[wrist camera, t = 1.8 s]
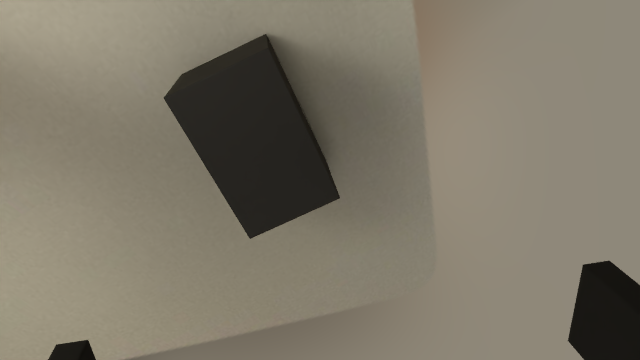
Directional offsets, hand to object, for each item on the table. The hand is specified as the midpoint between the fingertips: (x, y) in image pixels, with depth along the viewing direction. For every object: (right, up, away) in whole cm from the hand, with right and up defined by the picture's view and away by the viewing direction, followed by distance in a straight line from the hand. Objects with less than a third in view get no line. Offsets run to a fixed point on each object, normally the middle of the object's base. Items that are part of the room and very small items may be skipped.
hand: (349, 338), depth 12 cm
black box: (-4, +8, +13) cm, 16 cm away
